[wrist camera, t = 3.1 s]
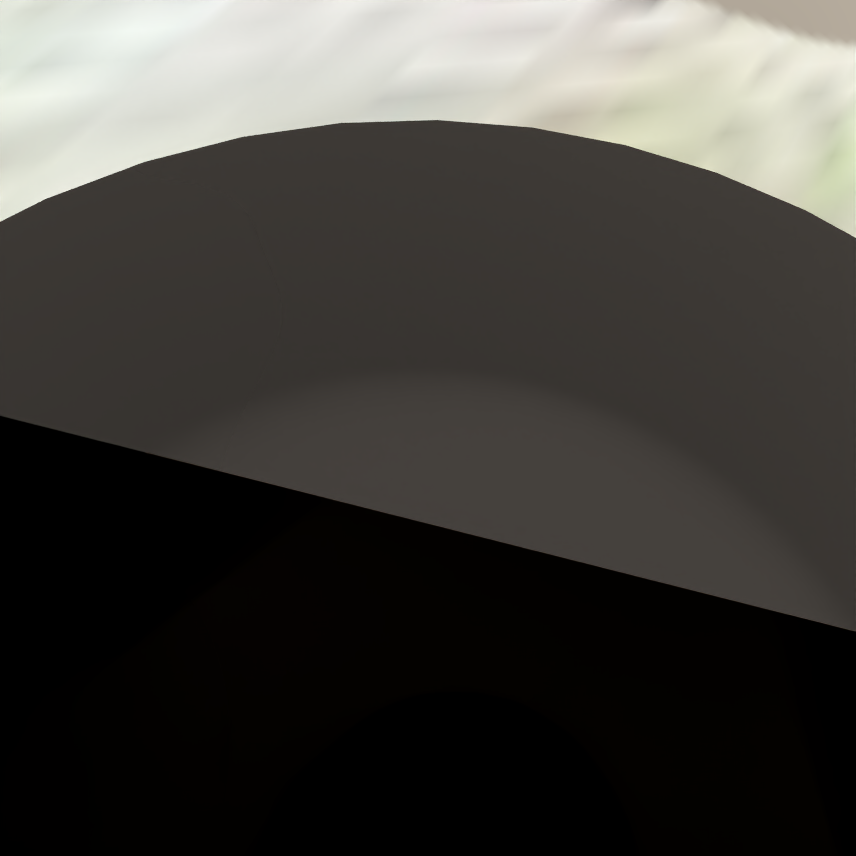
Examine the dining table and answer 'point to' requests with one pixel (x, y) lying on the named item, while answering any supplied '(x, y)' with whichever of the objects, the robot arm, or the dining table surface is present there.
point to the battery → (426, 505)
